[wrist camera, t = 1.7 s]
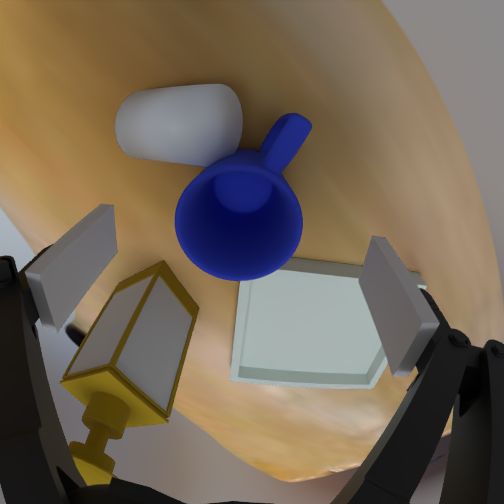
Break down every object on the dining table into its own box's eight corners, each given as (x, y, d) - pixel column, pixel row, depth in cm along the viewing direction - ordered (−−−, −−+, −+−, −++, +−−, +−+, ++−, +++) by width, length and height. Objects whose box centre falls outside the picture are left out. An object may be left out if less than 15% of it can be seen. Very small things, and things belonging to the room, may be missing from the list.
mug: (328, 134, 26) (363, 157, 18) (258, 237, 31) (260, 299, 23) (248, 86, 24) (244, 82, 16) (184, 198, 30) (155, 248, 21)
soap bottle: (134, 219, 31) (-3, 407, 11) (199, 307, 36) (148, 505, 16) (91, 246, 33) (-31, 408, 13) (153, 325, 38) (91, 496, 18)
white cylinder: (185, 90, 17) (109, 98, 20) (195, 180, 20) (122, 169, 24) (240, 79, 21) (164, 84, 24) (244, 153, 24) (171, 146, 28)
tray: (243, 251, 32) (241, 264, 30) (418, 272, 33) (427, 285, 30) (231, 366, 41) (229, 380, 39) (369, 375, 41) (372, 388, 39)
